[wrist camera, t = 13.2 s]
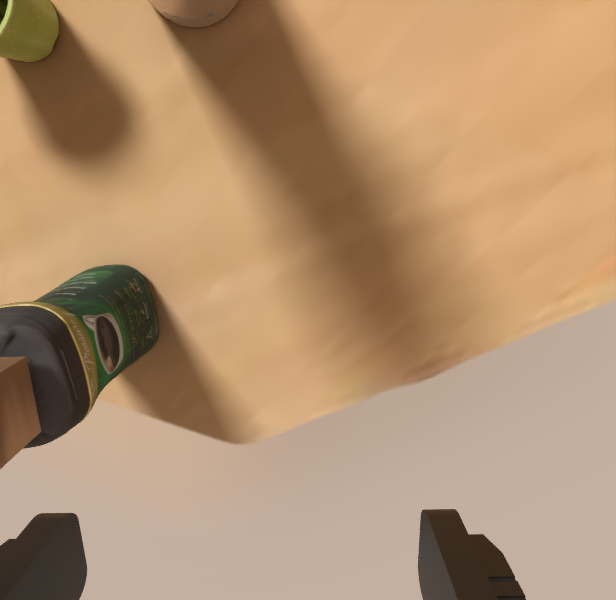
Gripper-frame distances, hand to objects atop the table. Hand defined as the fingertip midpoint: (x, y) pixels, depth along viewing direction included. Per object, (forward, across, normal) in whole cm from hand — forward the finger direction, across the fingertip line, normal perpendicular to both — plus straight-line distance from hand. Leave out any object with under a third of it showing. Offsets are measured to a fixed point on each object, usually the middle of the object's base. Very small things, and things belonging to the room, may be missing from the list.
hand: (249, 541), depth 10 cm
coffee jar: (+34, +18, +4) cm, 39 cm away
